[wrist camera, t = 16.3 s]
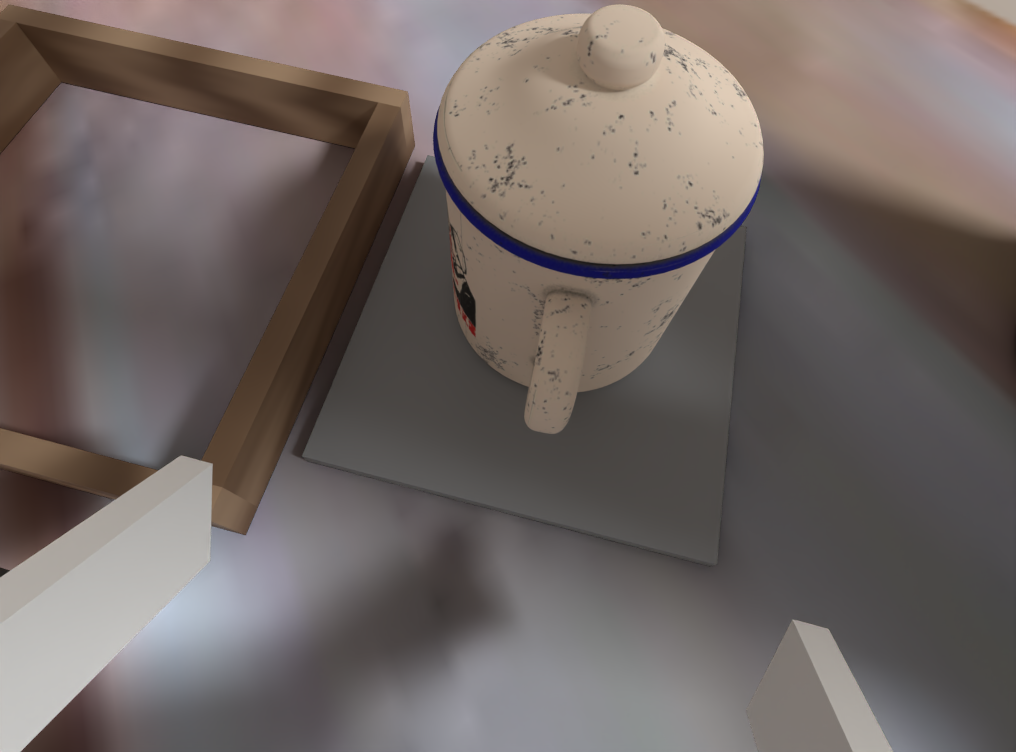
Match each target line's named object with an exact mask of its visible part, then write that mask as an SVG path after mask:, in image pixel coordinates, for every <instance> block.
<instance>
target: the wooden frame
mask: <svg viewBox="0 0 1016 752" xmlns="http://www.w3.org/2000/svg"><path fill="white" fill-rule="evenodd" d="M61 82H64V83H68V84H73V85H77V86H82V87H86V88H90V89H95V90H99V91H104V92H108V93H113V94H117V95H121V96H126V97H130V98H135V99H139V100H144V101H148V102H152V103H157V104H161V105H166V106H170V107H175V108H179V109H183V110H188V111H192V112H197V113H201V114H205V115H210V116H214V117H219V118H223V119H228V120H232V121H236V122H241V123H245V124H250V125H254V126H259V127H263V128H267V129H272V130H276V131H281V132H285V133H290V134H294V135H298V136H303V137H307V138H312V139H316V140H321V141H325V142H329V143H334V144H338V145H343V146H347V147H352V148H356V149H355V151H354V153H353V155H352V157H351V159H350V161H349V163H348V165H347V167H346V169H345V171H344V173H343V175H342V177H341V179H340V181H339V183H338V185H337V187H336V189H335V191H334V193H333V195H332V197H331V199H330V201H329V203H328V205H327V207H326V209H325V211H324V213H323V215H322V217H321V219H320V221H319V223H318V225H317V227H316V229H315V231H314V233H313V235H312V238H311V240H310V242H309V244H308V246H307V248H306V250H305V252H304V254H303V256H302V258H301V260H300V262H299V264H298V266H297V268H296V270H295V272H294V274H293V276H292V278H291V280H290V282H289V284H288V286H287V288H286V290H285V292H284V294H283V296H282V298H281V300H280V302H279V304H278V306H277V308H276V310H275V312H274V314H273V316H272V318H271V320H270V322H269V324H268V326H267V328H266V330H265V332H264V335H263V337H262V339H261V341H260V343H259V345H258V347H257V349H256V351H255V353H254V355H253V357H252V359H251V361H250V363H249V365H248V367H247V369H246V371H245V373H244V375H243V377H242V379H241V381H240V383H239V385H238V387H237V389H236V391H235V393H234V395H233V397H232V399H231V401H230V403H229V405H228V407H227V409H226V411H225V413H224V415H223V417H222V419H221V421H220V423H219V425H218V427H217V430H216V432H215V434H214V436H213V438H212V440H211V442H210V444H209V446H208V448H207V450H206V452H205V454H204V456H203V458H202V460H201V461H204V462H208V463H212V464H213V470H212V510H211V526H214V527H217V528H221V529H225V530H228V531H232V532H236V533H240V534H243V535H246V533H247V531H248V528H249V526H250V524H251V521H252V519H253V517H254V515H255V512H256V510H257V508H258V505H259V503H260V501H261V498H262V496H263V494H264V492H265V489H266V487H267V485H268V482H269V480H270V478H271V475H272V473H273V471H274V469H275V466H276V464H277V462H278V459H279V457H280V455H281V452H282V450H283V448H284V446H285V443H286V441H287V439H288V436H289V434H290V432H291V430H292V427H293V425H294V423H295V420H296V418H297V416H298V413H299V411H300V409H301V407H302V404H303V402H304V400H305V397H306V395H307V393H308V390H309V388H310V386H311V384H312V381H313V379H314V377H315V374H316V372H317V370H318V367H319V365H320V363H321V361H322V358H323V356H324V354H325V351H326V349H327V347H328V344H329V342H330V340H331V338H332V335H333V333H334V331H335V328H336V326H337V324H338V321H339V319H340V317H341V315H342V312H343V310H344V308H345V305H346V303H347V301H348V299H349V296H350V294H351V292H352V289H353V287H354V285H355V282H356V280H357V278H358V276H359V273H360V271H361V269H362V266H363V264H364V262H365V259H366V257H367V255H368V253H369V250H370V248H371V246H372V243H373V241H374V239H375V236H376V234H377V232H378V230H379V227H380V225H381V223H382V220H383V218H384V216H385V213H386V211H387V209H388V207H389V204H390V202H391V200H392V197H393V195H394V193H395V191H396V188H397V186H398V184H399V181H400V179H401V177H402V174H403V172H404V170H405V168H406V165H407V163H408V161H409V158H410V156H411V154H412V151H413V149H414V147H415V141H414V134H413V126H412V118H411V111H410V103H409V96H408V92H407V91H403V90H398V89H394V88H389V87H385V86H380V85H375V84H371V83H366V82H362V81H357V80H352V79H348V78H343V77H339V76H334V75H330V74H325V73H320V72H316V71H311V70H307V69H302V68H298V67H293V66H288V65H284V64H279V63H275V62H270V61H266V60H261V59H256V58H252V57H247V56H243V55H238V54H233V53H229V52H224V51H220V50H215V49H211V48H206V47H201V46H197V45H192V44H188V43H183V42H179V41H174V40H169V39H165V38H160V37H156V36H151V35H147V34H142V33H137V32H133V31H128V30H124V29H119V28H115V27H110V26H105V25H101V24H96V23H92V22H87V21H82V20H78V19H73V18H69V17H64V16H60V15H55V14H50V13H46V12H41V11H37V10H32V9H28V8H23V7H18V6H14V5H8V6H7V7H6V8H5V9H4V10H3V11H2V12H1V13H0V153H1V152H2V151H3V150H4V148H5V147H6V146H7V145H8V144H9V143H10V141H11V140H12V139H13V138H14V137H15V136H16V134H17V133H18V132H19V131H20V130H21V129H22V127H23V126H24V125H25V124H26V123H27V121H28V120H29V119H30V118H31V117H32V116H33V114H34V113H35V112H36V111H37V110H38V109H39V107H40V106H41V105H42V104H43V103H44V102H45V100H46V99H47V98H48V97H49V96H50V95H51V93H52V92H53V91H54V90H55V89H56V88H57V86H58V85H59V84H60V83H61ZM0 469H4V470H7V471H11V472H15V473H18V474H22V475H26V476H29V477H33V478H37V479H41V480H44V481H48V482H52V483H55V484H59V485H63V486H66V487H70V488H74V489H77V490H81V491H85V492H88V493H92V494H96V495H99V496H103V497H107V498H111V499H114V500H116V499H117V498H119V497H120V496H121V495H123V494H124V493H126V492H127V491H129V490H130V489H132V488H133V487H135V486H136V485H138V484H139V483H141V482H142V481H144V480H145V479H147V478H148V477H150V476H151V475H153V474H154V473H156V472H157V471H158V470H155V469H151V468H148V467H144V466H140V465H136V464H133V463H129V462H125V461H121V460H118V459H114V458H110V457H106V456H103V455H99V454H95V453H92V452H88V451H84V450H80V449H77V448H73V447H69V446H65V445H62V444H58V443H54V442H50V441H47V440H43V439H39V438H35V437H32V436H28V435H24V434H20V433H17V432H13V431H9V430H5V429H2V428H0Z"/></svg>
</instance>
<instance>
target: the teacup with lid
mask: <svg viewBox="0 0 1016 752" xmlns="http://www.w3.org/2000/svg"><path fill="white" fill-rule="evenodd" d="M433 145H434V154H435V161H436V165H437V168H438V172H439V175H440V177H441V180H442V182H443V185H444V187H445V189H446V199H447V212H448V225H449V238H450V251H451V264H452V277H453V290H454V302H455V309H456V314H457V317H458V321H459V324H460V326H461V329H462V331H463V333H464V335H465V337H466V339H467V340H468V342H469V343H470V345H471V346H472V348H473V349H474V350H475V351H476V353H477V354H478V355H479V356H480V357H481V358H482V359H483V360H484V361H485V362H486V363H487V364H488V365H490V366H491V367H492V368H493V369H495V370H496V371H498V372H499V373H500V374H502V375H504V376H505V377H507V378H509V379H511V380H513V381H515V382H517V383H520V384H522V385H525V386H528V387H529V389H528V395H527V400H526V406H525V413H524V419H525V422H526V425H527V426H528V427H529V428H530V429H532V430H534V431H537V432H543V433H548V434H555V433H558V432H560V431H562V430H563V429H564V427H565V426H566V425H567V423H568V421H569V419H570V416H571V413H572V410H573V407H574V403H575V400H576V395H577V392H584V391H590V390H594V389H598V388H601V387H604V386H607V385H610V384H612V383H614V382H616V381H618V380H620V379H622V378H623V377H625V376H627V375H628V374H630V373H631V372H632V371H634V370H635V369H636V368H637V367H638V366H639V365H640V364H641V363H642V362H643V361H644V360H645V359H646V358H647V357H648V356H649V354H650V353H651V352H652V350H653V349H654V347H655V346H656V344H657V342H658V341H659V339H660V338H661V336H662V334H663V333H664V331H665V330H666V328H667V326H668V325H669V323H670V322H671V320H672V318H673V317H674V315H675V314H676V312H677V310H678V309H679V307H680V305H681V304H682V302H683V301H684V299H685V297H686V296H687V294H688V293H689V291H690V289H691V288H692V286H693V285H694V283H695V281H696V280H697V278H698V277H699V275H700V273H701V272H702V270H703V269H704V267H705V265H706V264H707V262H708V261H709V259H710V257H711V256H712V254H713V253H714V251H715V249H717V248H718V247H720V246H721V245H722V244H723V243H724V242H726V241H727V240H728V239H729V238H730V237H731V236H732V235H733V234H734V233H735V232H736V230H737V229H738V228H739V227H740V226H741V224H742V223H743V222H744V220H745V219H746V217H747V216H748V214H749V212H750V210H751V208H752V206H753V204H754V202H755V200H756V197H757V194H758V191H759V186H760V181H761V173H762V168H763V156H764V152H763V140H762V133H761V129H760V124H759V121H758V118H757V115H756V112H755V110H754V108H753V106H752V103H751V101H750V100H749V98H748V96H747V95H746V93H745V91H744V90H743V88H742V87H741V85H740V84H739V83H738V81H737V80H736V79H735V78H734V77H733V76H732V74H731V73H730V72H729V71H728V70H727V69H726V68H725V67H724V66H723V65H722V64H721V63H719V62H718V61H717V60H716V59H715V58H713V57H712V56H711V55H710V54H708V53H707V52H706V51H704V50H703V49H701V48H700V47H698V46H697V45H695V44H693V43H692V42H690V41H688V40H686V39H685V38H683V37H681V36H679V35H677V34H675V33H673V32H670V31H668V30H665V29H663V28H661V26H660V24H659V23H658V21H657V20H656V19H655V18H654V17H653V16H652V15H651V14H649V13H648V12H646V11H644V10H642V9H640V8H637V7H634V6H630V5H610V6H606V7H603V8H601V9H599V10H597V11H595V12H594V13H593V14H566V15H558V16H551V17H546V18H541V19H536V20H533V21H529V22H526V23H523V24H520V25H517V26H515V27H512V28H510V29H508V30H506V31H503V32H501V33H500V34H498V35H496V36H494V37H493V38H491V39H489V40H488V41H487V42H485V43H484V44H482V45H481V46H480V47H478V48H477V49H476V50H475V51H474V52H473V53H472V54H470V55H469V57H468V58H467V59H466V60H465V61H464V62H463V63H462V64H461V66H460V67H459V68H458V70H457V71H456V73H455V74H454V75H453V77H452V78H451V80H450V82H449V84H448V86H447V87H446V90H445V92H444V95H443V97H442V100H441V104H440V106H439V109H438V112H437V115H436V119H435V125H434V133H433Z"/></svg>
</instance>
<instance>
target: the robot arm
mask: <svg viewBox="0 0 1016 752" xmlns="http://www.w3.org/2000/svg"><path fill="white" fill-rule="evenodd" d="M212 470H213V464H212V463H208V462H204V461H200V460H197V459H193V458H189V457H186V456H182V455H181V456H179V457H178V458H176V459H175V460H173V461H172V462H170V463H169V464H167V465H166V466H164V467H163V468H161V469H160V470H158V471H157V472H156V473H154V474H153V475H151V476H150V477H148V478H147V479H145V480H144V481H142V482H141V483H139V484H138V485H136V486H135V487H133V488H132V489H130V490H129V491H127V492H126V493H124V494H123V495H121V496H120V497H119V498H117V499H116V500H114V501H113V502H111V503H110V504H108V505H107V506H105V507H104V508H102V509H101V510H99V511H98V512H96V513H95V514H93V515H92V516H90V517H89V518H87V519H86V520H85V521H83V522H82V523H80V524H79V525H77V526H76V527H74V528H73V529H71V530H70V531H68V532H67V533H65V534H64V535H62V536H61V537H59V538H58V539H56V540H55V541H53V542H52V543H50V544H49V545H48V546H46V547H45V548H43V549H42V550H40V551H39V552H37V553H36V554H34V555H33V556H31V557H30V558H28V559H27V560H25V561H24V562H22V563H21V564H19V565H18V566H16V567H15V568H14V569H12V570H11V571H10V570H6V569H3V568H0V752H21V751H22V750H23V749H24V748H25V747H26V746H27V745H28V744H29V743H30V742H31V741H32V740H33V739H34V738H35V737H36V736H37V735H38V734H39V733H40V732H41V731H42V730H43V729H44V728H45V727H46V726H47V725H48V723H49V722H50V721H51V720H52V719H53V718H54V717H55V716H56V715H57V714H58V713H59V712H60V711H61V710H62V709H63V708H64V707H65V706H66V705H67V704H68V703H69V702H70V701H71V700H72V699H73V698H74V697H75V696H76V695H77V694H78V693H79V692H80V691H81V690H82V689H83V688H84V687H85V686H86V685H87V684H88V683H89V682H90V681H91V680H92V679H93V678H94V677H95V676H96V675H97V674H98V673H99V672H100V671H101V670H102V669H103V668H104V667H105V666H106V665H107V664H108V663H109V662H110V661H111V660H112V659H113V658H114V657H115V656H116V655H117V654H118V653H119V652H120V651H121V650H122V649H123V648H124V647H125V646H126V645H127V644H128V643H129V642H130V641H131V640H132V639H133V638H134V637H135V636H136V635H137V634H138V633H139V632H140V631H141V630H142V629H143V628H144V627H145V626H146V625H147V624H148V623H149V622H150V621H151V620H152V619H153V618H154V617H155V616H156V615H157V614H158V613H159V612H160V611H161V610H162V609H163V608H164V607H165V606H166V605H167V604H168V603H169V602H170V601H171V600H172V599H173V598H174V597H175V596H176V595H177V594H178V593H179V592H180V591H181V590H182V589H183V588H184V587H185V586H186V585H187V584H188V583H189V582H190V581H191V580H192V579H193V578H194V577H195V576H196V575H197V574H198V573H199V572H200V571H201V570H202V569H203V568H204V567H205V566H206V565H207V564H208V563H209V562H210V551H211V510H212ZM746 712H747V715H748V718H749V722H750V725H751V729H752V732H753V736H754V739H755V743H756V746H757V749H758V752H893V750H892V749H891V747H890V745H889V743H888V741H887V739H886V737H885V735H884V733H883V731H882V730H881V728H880V726H879V724H878V722H877V720H876V718H875V716H874V714H873V712H872V710H871V709H870V707H869V705H868V703H867V701H866V699H865V697H864V695H863V693H862V691H861V690H860V688H859V686H858V684H857V682H856V680H855V678H854V676H853V674H852V672H851V671H850V669H849V667H848V665H847V663H846V661H845V659H844V657H843V655H842V653H841V651H840V650H839V648H838V646H837V644H836V642H835V640H834V638H833V636H832V634H831V632H830V631H829V629H827V628H824V627H820V626H816V625H812V624H809V623H805V622H801V621H797V620H794V619H792V621H791V623H790V625H789V627H788V629H787V631H786V633H785V635H784V637H783V639H782V641H781V643H780V645H779V647H778V649H777V651H776V653H775V655H774V657H773V658H772V660H771V662H770V664H769V666H768V668H767V670H766V672H765V674H764V676H763V678H762V680H761V682H760V684H759V686H758V688H757V690H756V692H755V694H754V696H753V698H752V700H751V702H750V704H749V706H748V708H747V710H746Z"/></svg>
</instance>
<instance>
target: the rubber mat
mask: <svg viewBox="0 0 1016 752" xmlns="http://www.w3.org/2000/svg"><path fill="white" fill-rule="evenodd" d="M746 228H747V227H744V226H740V227H739V228H738V229H737V230H736V232H735V233H734V234H733V235H732V236H731V237H730V238H729V239H728V240H727V241H726V242H724V243H723V244H722V245H721V246H720V247H718V248H717V249H715V251H714V253H713V254H712V256H711V257H710V259H709V261H708V262H707V264H706V265H705V267H704V269H703V270H702V272H701V273H700V275H699V277H698V278H697V280H696V281H695V283H694V285H693V286H692V288H691V289H690V291H689V293H688V294H687V296H686V297H685V299H684V301H683V302H682V304H681V305H680V307H679V309H678V310H677V312H676V314H675V315H674V317H673V318H672V320H671V322H670V323H669V325H668V326H667V328H666V330H665V331H664V333H663V334H662V336H661V338H660V339H659V341H658V342H657V344H656V346H655V347H654V349H653V350H652V352H651V353H650V354H649V356H648V357H647V358H646V359H645V360H644V361H643V362H642V363H641V364H640V365H639V366H638V367H637V368H636V369H635V370H634V371H632V372H631V373H630V374H628V375H627V376H625V377H623V378H622V379H620V380H618V381H616V382H614V383H612V384H610V385H607V386H604V387H601V388H598V389H594V390H590V391H584V392H577V395H576V400H575V403H574V407H573V410H572V413H571V416H570V419H569V421H568V423H567V425H566V426H565V427H564V429H563V430H562V431H560V432H558V433H555V434H548V433H543V432H537V431H534V430H532V429H530V428H529V427H528V426H527V425H526V422H525V419H524V413H525V406H526V400H527V395H528V389H529V387H528V386H525V385H522V384H520V383H517V382H515V381H513V380H511V379H509V378H507V377H505V376H504V375H502V374H500V373H499V372H498V371H496V370H495V369H493V368H492V367H491V366H490V365H488V364H487V363H486V362H485V361H484V360H483V359H482V358H481V357H480V356H479V355H478V354H477V353H476V351H475V350H474V349H473V348H472V346H471V345H470V343H469V342H468V340H467V339H466V337H465V335H464V333H463V331H462V329H461V326H460V324H459V321H458V317H457V314H456V309H455V302H454V290H453V277H452V264H451V251H450V238H449V225H448V212H447V199H446V189H445V187H444V185H443V182H442V180H441V177H440V175H439V172H438V168H437V165H436V161H435V157H433V156H429V155H428V156H427V158H426V160H425V163H424V165H423V168H422V170H421V172H420V175H419V177H418V180H417V182H416V184H415V187H414V189H413V192H412V194H411V196H410V199H409V201H408V203H407V206H406V208H405V211H404V213H403V215H402V218H401V220H400V223H399V225H398V227H397V230H396V232H395V235H394V237H393V239H392V242H391V244H390V247H389V249H388V251H387V254H386V256H385V258H384V261H383V263H382V266H381V268H380V270H379V273H378V275H377V278H376V280H375V282H374V285H373V287H372V290H371V292H370V294H369V297H368V299H367V302H366V304H365V306H364V309H363V311H362V313H361V316H360V318H359V321H358V323H357V325H356V328H355V330H354V333H353V335H352V337H351V340H350V342H349V345H348V347H347V349H346V352H345V354H344V357H343V359H342V361H341V364H340V366H339V369H338V371H337V373H336V376H335V378H334V380H333V383H332V385H331V388H330V390H329V392H328V395H327V397H326V400H325V402H324V404H323V407H322V409H321V412H320V414H319V416H318V419H317V421H316V424H315V426H314V428H313V431H312V433H311V435H310V438H309V440H308V443H307V445H306V447H305V450H304V452H303V455H302V457H303V458H304V459H305V460H306V461H309V462H313V463H317V464H320V465H324V466H328V467H332V468H336V469H340V470H343V471H347V472H351V473H355V474H359V475H363V476H366V477H370V478H374V479H378V480H382V481H385V482H389V483H393V484H397V485H401V486H405V487H408V488H412V489H416V490H420V491H424V492H428V493H431V494H435V495H439V496H443V497H447V498H451V499H454V500H458V501H462V502H466V503H470V504H473V505H477V506H481V507H485V508H489V509H493V510H496V511H500V512H504V513H508V514H512V515H516V516H519V517H523V518H527V519H531V520H535V521H538V522H542V523H546V524H550V525H554V526H558V527H561V528H565V529H569V530H573V531H577V532H581V533H584V534H588V535H592V536H596V537H600V538H604V539H607V540H611V541H615V542H619V543H623V544H626V545H630V546H634V547H638V548H642V549H646V550H649V551H653V552H657V553H661V554H665V555H669V556H672V557H676V558H680V559H684V560H688V561H691V562H695V563H699V564H703V565H707V566H714V565H717V560H718V548H719V537H720V525H721V514H722V503H723V491H724V480H725V468H726V457H727V445H728V434H729V423H730V411H731V400H732V388H733V377H734V365H735V354H736V343H737V331H738V320H739V308H740V297H741V285H742V274H743V263H744V251H745V240H746Z"/></svg>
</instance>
